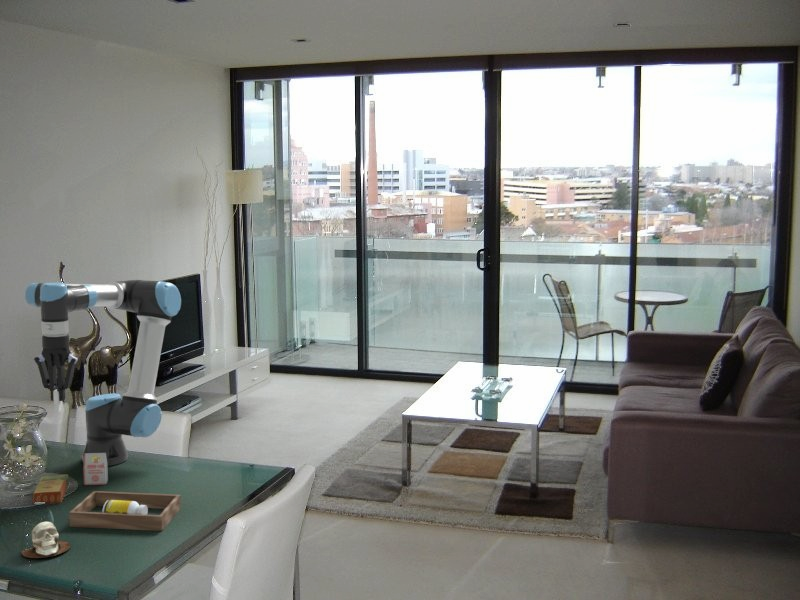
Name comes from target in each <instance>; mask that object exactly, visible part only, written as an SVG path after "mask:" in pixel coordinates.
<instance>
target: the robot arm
mask: <svg viewBox="0 0 800 600" xmlns="http://www.w3.org/2000/svg"><path fill="white" fill-rule="evenodd" d="M24 299H25V302H26V303H27V305H29V306H31V307H36V308H40V316H41V319H40V320H41V321H40V322H41V334H42V336H41V343H42V345H41V346H42V351H41V354H39V355H37V356H35V357H33V358H34V359H33V360H34V362H35V363H36V365H37V369H38V370H39V371H38V372H39V374H40V378H41V381H42V385H43V388H44V389H48V390H49V391H50V401H53V412H54V413H60V412H62V411H63V410H64V407H63V406H64V405H63V401H65V400H66V390H68V389H69V388H71V387H72V384H73V383H72V382H73V379H74V378H73V377H74V373H75V370H76V364H77V362H78V361H79V357H78V356H74V355H72V352H71V351H70V336H69V334H68V333H69V332H70V328H69V313H72V312H78V311H86V310H89V309H91V308H94V307H105V308H107V309H109V310H120V311H126V312H131V313H136V318H137V319H138V321H139V322H140V323H139V328H138V333H137V339H136V345H135V351H134V357H133V361H132V367H131V372H130V379H129V385H128V390H127V391H126V392H125V393H123V394H122V396H121V394H120V393H105V394H103V393H102V394H99V395H94V396H92V397H89V398H87V400H86V401H85V410H84V411H85V425H86V428H85V429H86V442H85V444H84V449H83V452H82V455H81V459H82V463H83V464H84V453H106V458H107V467H111V466H115V465H119V464H121V463H124V462H125V461H127V460H128V458H129V457H128V453H129V452H128V449H127V447H126V445H125V442H124V439H123V436H129V437H133V438H148V437H151V436H152V435H153V434H154V433H155V432H157V430H158V429H159V427H160V425H161V422H162V416H163V413H162V409H161V407H160V406H159V405H158V398H157V397H156V396H155V388H156V382H157V378H158V372H159V371H158V370H159V366H160V361H161V360H160V359H161V353H162V347H163V342H164V337H165V331H166V327H167V326H168V325H169V324H170V323H171V322H172V317H174V316H177V315H178V313H179V312H180V310H181V308H182V307H181V306H182V297H181V293H180V291H179V288H178V287H177V286H176V285H175V284H173V283H171V282H168V281H167V282H166V281H162V280H159V281H157V280H144V279H143V280H142V279H131V280H123V281H122V280H119V281H108V282H107V283H105V284H103V283H102V284H101V283H99V284H98V283H96V284H95V283H91V284H90V283H65V282H60V281H59V282H56V281H55V282H46V283H43V282H32V283H30V284H29V285H28V286H27V287H26V289H25V292H24ZM67 361H68V366H67V369H66V362H67ZM46 362H47V363H46ZM46 364H47V365H46ZM65 369H66V370H65Z"/></svg>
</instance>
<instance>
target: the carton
mask: <svg viewBox="0 0 800 600" xmlns="http://www.w3.org/2000/svg"><path fill="white" fill-rule="evenodd" d="M39 479H40V480H39V482H37V483H38V484H37V486H36V487H35V489H34V491H33V493H32V501H33V503H35V502H45V503H58V504H62V503H63V501H64V498H65V496H66V494H65V493H67V491H68V489H69V487H70V480H69V479H70V478H69V474H67V473H65V474H55V475H53V474H52V475H42V476H41V478H39ZM68 486H69V487H68ZM67 488H68V489H67ZM66 490H67V491H66ZM64 495H65V496H64ZM63 497H64V498H63ZM62 500H63V501H62ZM61 502H62V503H61Z"/></svg>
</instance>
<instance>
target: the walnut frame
mask: <svg viewBox="0 0 800 600" xmlns="http://www.w3.org/2000/svg"><path fill="white" fill-rule="evenodd" d="M107 500H123V501H136V502H137V503H138V504H139V506H140V505H146V506H147V508H148V509H161V510H162V509H163V510H162V512H161V513H160V514H147V515H144V514H121V513H102V512H97V511H95V512H94V511H91V510H93V509H94V508H96V507H98V506H99V507H103V506H104V504H105V502H106V501H107ZM181 509H182V495H181V494H172V493H171V494H170V493H169V494H168V493H150V492H149V493H147V492H146V493H145V492H127V491H125V492H123V491H105V490H104V491H102V490H101V491H99V490H93V491H92V492H91V493H89V494H88V496H86V497H85V498H84V499H83V500H82V501H81V502H79V503H78V504H77V505H76V506H75V507H74V508H73V509H71V510H70V511H69V512H68V520H69V522H68V523H69V527H70V528H71V527H72V528H90V529H91V528H92V529H93V528H94V529H110V530H111V529H116V530H117V529H118V530H135V531H136V530H139V531H158V532H161V531H163V530H164V529H165V528H166V527H167V526H168V524H169V523H170V522H171V521H172V519H174V517H175V516H176V515H177V514H178V513H179V511H180V510H181Z"/></svg>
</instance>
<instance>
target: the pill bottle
mask: <svg viewBox="0 0 800 600" xmlns="http://www.w3.org/2000/svg"><path fill="white" fill-rule="evenodd" d="M101 511H102V512H101V513H121V514H144V515H149V514H148V512H149V508H147V506H146V505H140V506H139V504H138V503H137V502H136V501H123V500H107V501H106V502H105V504H104V506H102V510H101Z"/></svg>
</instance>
